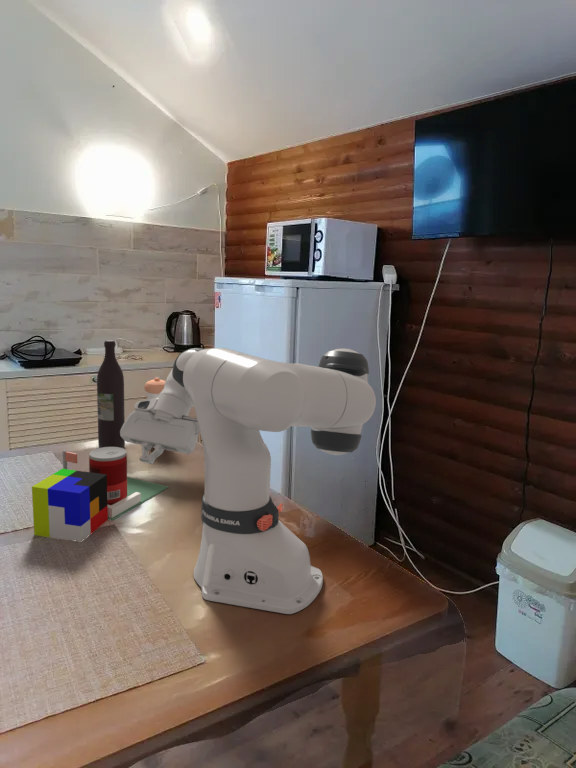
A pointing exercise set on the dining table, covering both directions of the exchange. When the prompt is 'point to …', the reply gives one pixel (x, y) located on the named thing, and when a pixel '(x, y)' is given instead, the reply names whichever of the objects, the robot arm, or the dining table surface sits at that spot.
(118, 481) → the canned food
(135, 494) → the cup fence
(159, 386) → the salt shaker
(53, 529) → the puzzle toy
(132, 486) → the felt runner
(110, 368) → the wine bottle
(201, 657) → the dining table surface
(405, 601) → the dining table surface
